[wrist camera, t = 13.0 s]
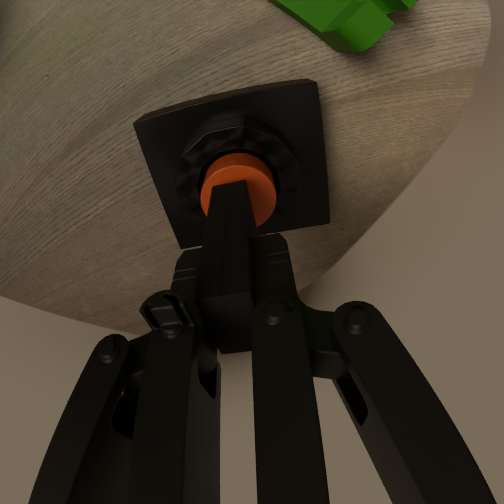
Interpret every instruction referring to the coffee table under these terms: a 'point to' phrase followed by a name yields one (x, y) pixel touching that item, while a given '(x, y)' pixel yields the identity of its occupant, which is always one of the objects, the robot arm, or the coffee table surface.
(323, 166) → the control block
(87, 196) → the coffee table surface
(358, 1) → the green ring bracket
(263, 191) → the button
